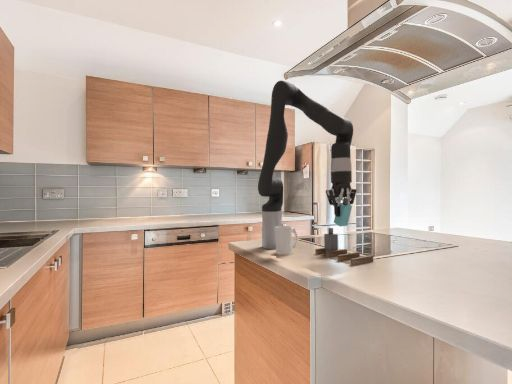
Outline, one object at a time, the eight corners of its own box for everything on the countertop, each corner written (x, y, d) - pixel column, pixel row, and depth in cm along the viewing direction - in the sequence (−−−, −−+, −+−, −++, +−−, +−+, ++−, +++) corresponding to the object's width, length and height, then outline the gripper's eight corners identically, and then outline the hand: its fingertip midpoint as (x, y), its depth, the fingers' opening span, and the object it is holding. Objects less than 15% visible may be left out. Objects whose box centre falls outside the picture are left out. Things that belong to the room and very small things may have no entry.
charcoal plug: (324, 253, 113) (324, 228, 113) (331, 252, 115) (331, 227, 114) (330, 255, 110) (330, 229, 110) (337, 254, 111) (337, 228, 111)
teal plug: (333, 222, 108) (339, 196, 105) (340, 221, 109) (346, 196, 106) (340, 226, 105) (346, 200, 102) (347, 225, 106) (353, 199, 103)
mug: (281, 258, 111) (280, 228, 111) (272, 255, 117) (272, 226, 117) (302, 255, 116) (301, 226, 116) (293, 252, 122) (292, 224, 122)
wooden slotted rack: (315, 257, 113) (315, 249, 113) (334, 253, 118) (334, 246, 118) (352, 268, 96) (352, 259, 96) (373, 264, 100) (373, 255, 100)
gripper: (347, 171, 113) (348, 214, 113) (319, 171, 106) (320, 216, 106) (362, 170, 106) (363, 215, 106) (333, 169, 100) (334, 218, 100)
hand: (341, 215), depth 106 cm, fingers closed on teal plug, 3 cm apart
